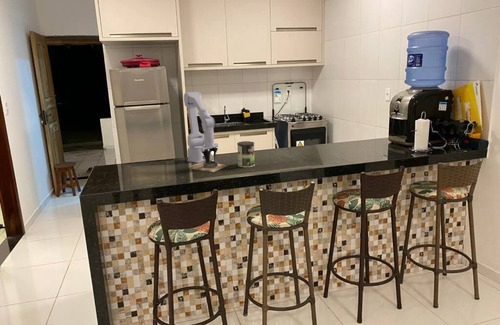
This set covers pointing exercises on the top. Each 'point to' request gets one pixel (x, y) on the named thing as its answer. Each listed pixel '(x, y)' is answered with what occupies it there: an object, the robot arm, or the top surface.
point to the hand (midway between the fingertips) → (210, 160)
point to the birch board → (200, 167)
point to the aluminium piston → (211, 157)
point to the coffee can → (245, 154)
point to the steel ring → (210, 164)
